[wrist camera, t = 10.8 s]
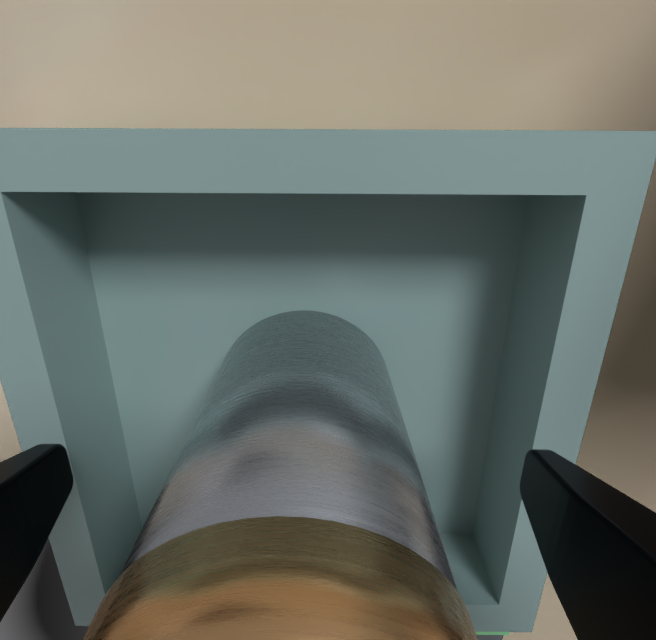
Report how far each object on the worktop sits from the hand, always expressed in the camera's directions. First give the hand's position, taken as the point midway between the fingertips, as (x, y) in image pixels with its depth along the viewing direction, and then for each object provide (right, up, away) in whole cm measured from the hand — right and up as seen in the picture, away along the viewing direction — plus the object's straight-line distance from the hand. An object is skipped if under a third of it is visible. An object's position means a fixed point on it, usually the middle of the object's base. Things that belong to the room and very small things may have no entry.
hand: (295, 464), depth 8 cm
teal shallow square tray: (0, +1, +4) cm, 4 cm away
